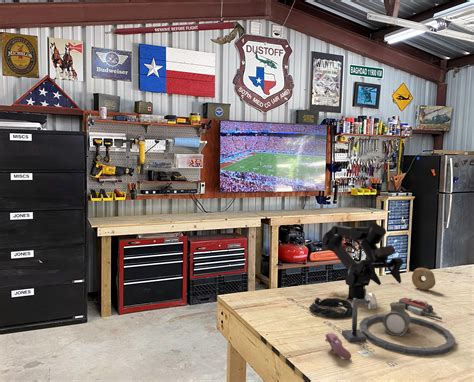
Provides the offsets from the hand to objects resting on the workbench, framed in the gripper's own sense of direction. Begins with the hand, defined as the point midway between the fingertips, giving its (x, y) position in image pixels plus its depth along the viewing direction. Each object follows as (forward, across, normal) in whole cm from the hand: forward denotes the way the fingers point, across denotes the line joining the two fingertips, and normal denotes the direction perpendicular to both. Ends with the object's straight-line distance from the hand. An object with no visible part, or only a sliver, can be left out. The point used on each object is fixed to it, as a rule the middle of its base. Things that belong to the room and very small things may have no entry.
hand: (390, 283), depth 159 cm
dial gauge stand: (+18, -22, +3) cm, 29 cm away
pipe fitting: (+17, -4, +4) cm, 18 cm away
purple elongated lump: (+24, -35, -2) cm, 43 cm away
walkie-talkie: (+7, +17, +12) cm, 22 cm away
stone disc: (-12, +39, +26) cm, 48 cm away
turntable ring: (+20, -5, +1) cm, 21 cm away
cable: (0, -19, +18) cm, 26 cm away
